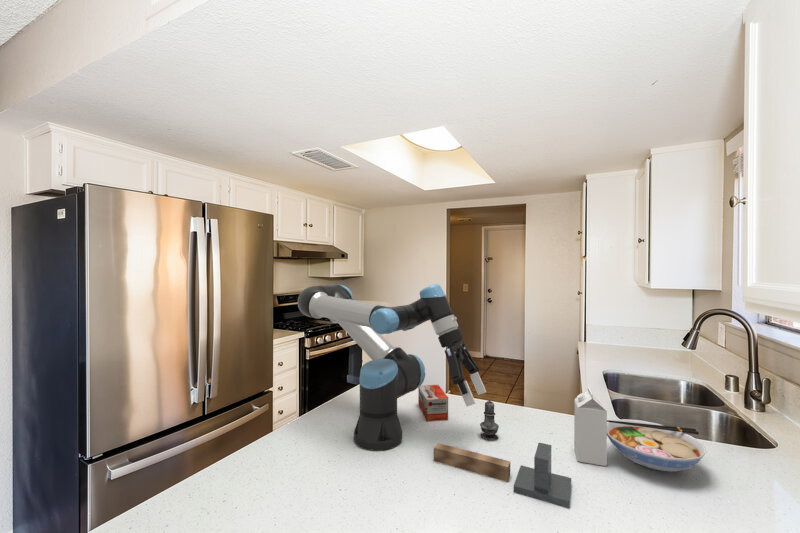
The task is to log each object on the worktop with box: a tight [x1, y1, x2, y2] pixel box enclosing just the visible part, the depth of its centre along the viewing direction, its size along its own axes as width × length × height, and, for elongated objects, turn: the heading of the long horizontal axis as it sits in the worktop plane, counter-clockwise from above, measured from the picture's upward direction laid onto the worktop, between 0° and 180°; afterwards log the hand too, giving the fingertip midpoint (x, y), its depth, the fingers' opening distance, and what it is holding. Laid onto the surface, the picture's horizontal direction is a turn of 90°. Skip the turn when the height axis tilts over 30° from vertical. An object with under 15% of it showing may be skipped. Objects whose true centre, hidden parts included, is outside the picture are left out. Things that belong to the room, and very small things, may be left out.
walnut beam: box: [433, 442, 511, 483], centre depth 95 cm, size 20×3×4 cm, turn 62°
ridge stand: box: [513, 442, 572, 509], centre depth 87 cm, size 12×10×9 cm
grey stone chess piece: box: [479, 398, 500, 442], centre depth 113 cm, size 6×6×12 cm
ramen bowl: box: [607, 418, 708, 472], centre depth 98 cm, size 25×23×8 cm
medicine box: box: [417, 384, 449, 422], centre depth 132 cm, size 15×8×8 cm, turn 9°
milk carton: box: [573, 386, 608, 467], centre depth 101 cm, size 7×7×19 cm
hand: (477, 399), depth 107 cm, fingers open, 13 cm apart
